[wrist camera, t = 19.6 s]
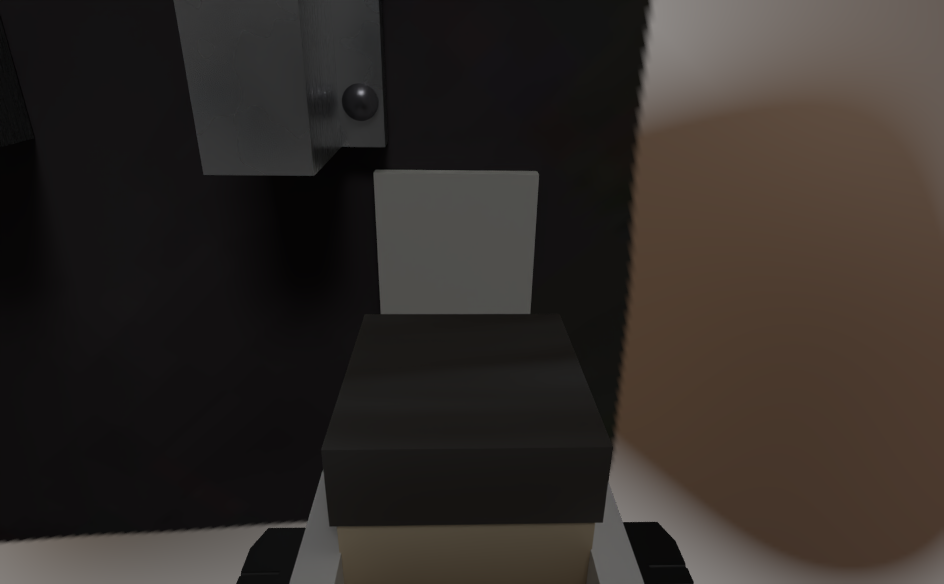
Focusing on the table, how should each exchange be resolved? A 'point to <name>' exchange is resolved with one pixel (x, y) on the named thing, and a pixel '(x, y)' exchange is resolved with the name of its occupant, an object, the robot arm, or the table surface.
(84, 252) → the table surface
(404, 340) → the tan piece
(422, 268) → the mat
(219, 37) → the dark grey boxy pieces
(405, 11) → the table surface
